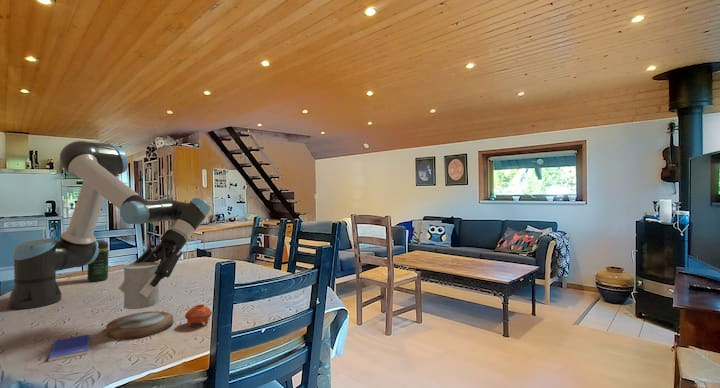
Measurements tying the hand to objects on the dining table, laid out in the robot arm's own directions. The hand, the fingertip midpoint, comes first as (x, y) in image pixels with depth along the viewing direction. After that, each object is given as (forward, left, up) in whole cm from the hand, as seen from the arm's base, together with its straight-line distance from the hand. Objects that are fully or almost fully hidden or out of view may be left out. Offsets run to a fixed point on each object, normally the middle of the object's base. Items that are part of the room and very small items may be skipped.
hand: (132, 292), depth 111 cm
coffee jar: (-74, +32, -12) cm, 82 cm away
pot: (+14, +13, -12) cm, 22 cm away
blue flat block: (-3, -15, -13) cm, 20 cm away
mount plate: (0, +3, -12) cm, 12 cm away
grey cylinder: (0, +3, -5) cm, 6 cm away
